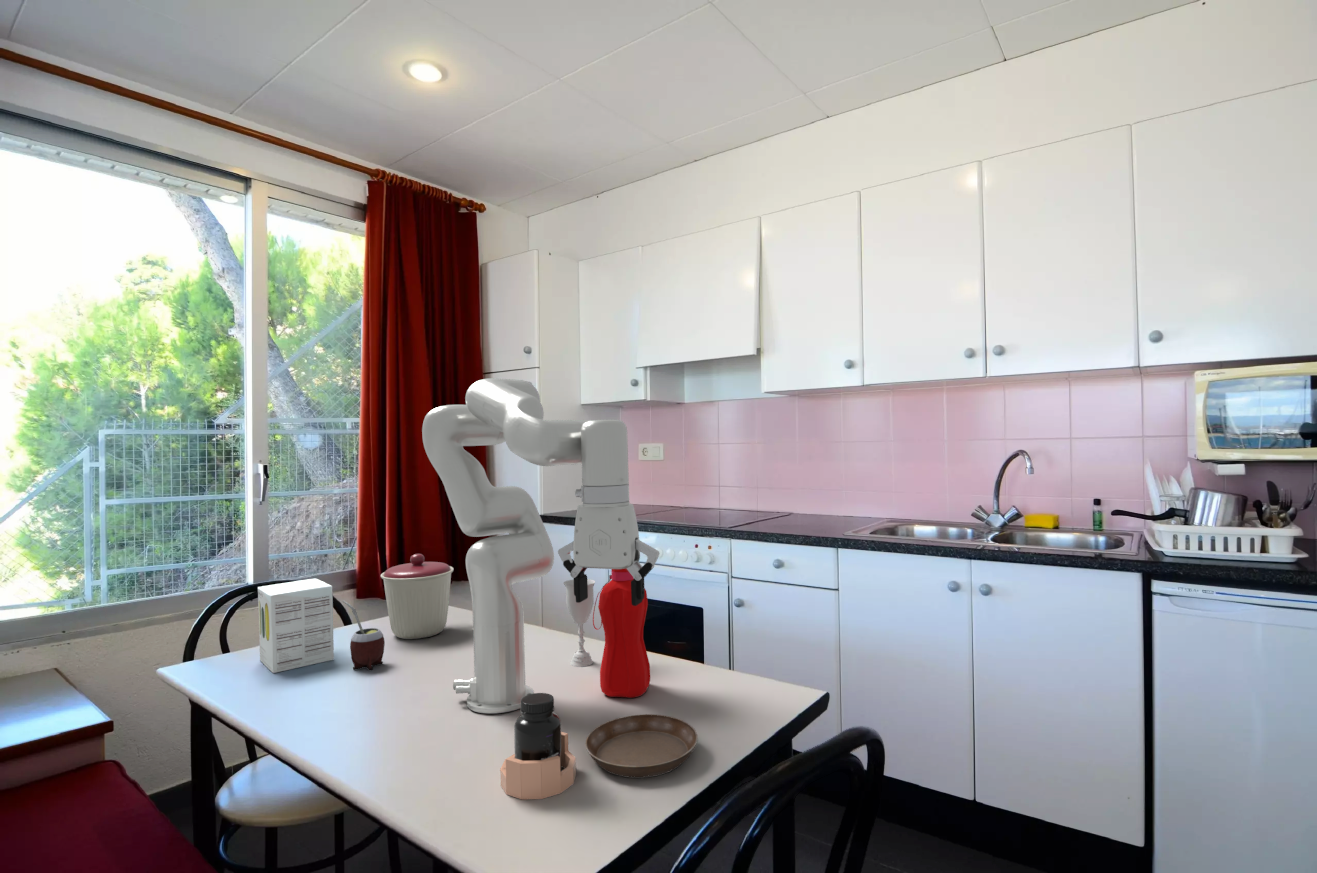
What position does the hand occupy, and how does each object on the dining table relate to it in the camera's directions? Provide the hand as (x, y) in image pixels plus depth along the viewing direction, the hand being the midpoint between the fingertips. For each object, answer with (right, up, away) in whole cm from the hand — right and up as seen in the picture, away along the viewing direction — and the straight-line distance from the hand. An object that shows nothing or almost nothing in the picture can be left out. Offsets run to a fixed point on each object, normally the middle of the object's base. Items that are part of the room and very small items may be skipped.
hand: (609, 602), depth 108 cm
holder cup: (-10, -24, -9) cm, 27 cm away
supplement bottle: (-10, -24, -9) cm, 28 cm away
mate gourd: (-58, -26, +43) cm, 77 cm away
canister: (-55, -26, +68) cm, 91 cm away
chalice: (-9, -24, +42) cm, 49 cm away
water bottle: (+1, -24, +25) cm, 34 cm away
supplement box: (-77, -26, +49) cm, 95 cm away
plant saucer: (+5, -24, -2) cm, 25 cm away
